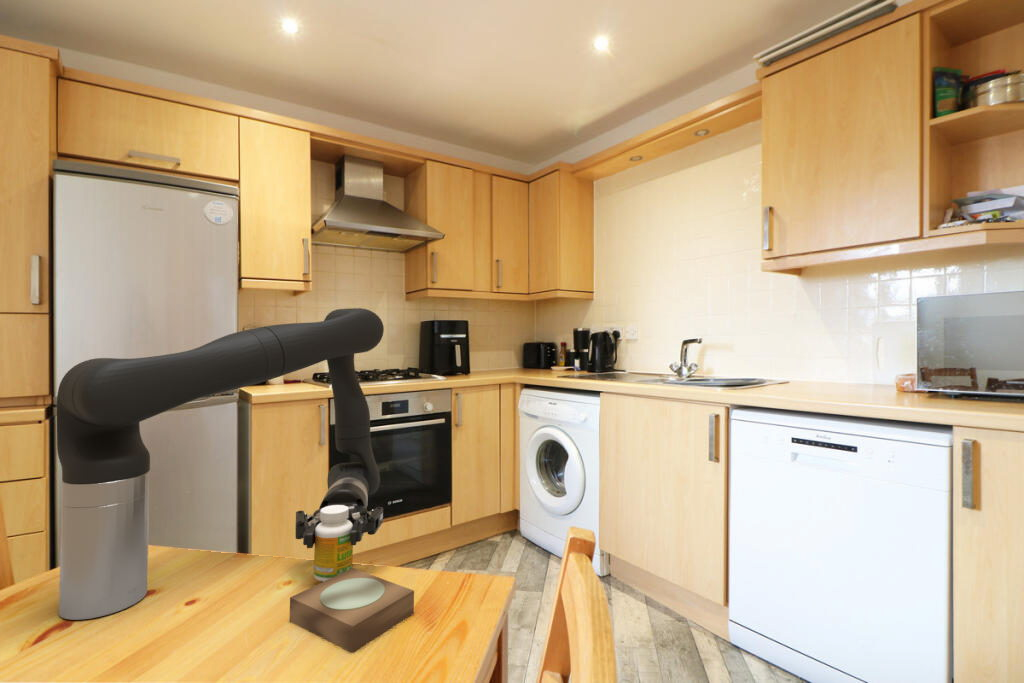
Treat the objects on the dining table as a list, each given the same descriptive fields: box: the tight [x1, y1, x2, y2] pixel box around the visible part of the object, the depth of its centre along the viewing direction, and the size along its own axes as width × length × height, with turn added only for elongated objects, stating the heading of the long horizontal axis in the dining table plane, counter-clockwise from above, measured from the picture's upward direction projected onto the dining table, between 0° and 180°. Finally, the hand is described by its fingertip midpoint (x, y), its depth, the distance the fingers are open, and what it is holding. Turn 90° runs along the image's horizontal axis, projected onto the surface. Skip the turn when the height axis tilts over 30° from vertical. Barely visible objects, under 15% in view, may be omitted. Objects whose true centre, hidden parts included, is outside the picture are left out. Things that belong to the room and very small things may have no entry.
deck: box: [289, 567, 415, 654], centre depth 63 cm, size 12×10×3 cm
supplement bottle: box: [313, 505, 354, 582], centre depth 73 cm, size 5×5×10 cm
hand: (331, 539), depth 70 cm, fingers closed on supplement bottle, 5 cm apart
